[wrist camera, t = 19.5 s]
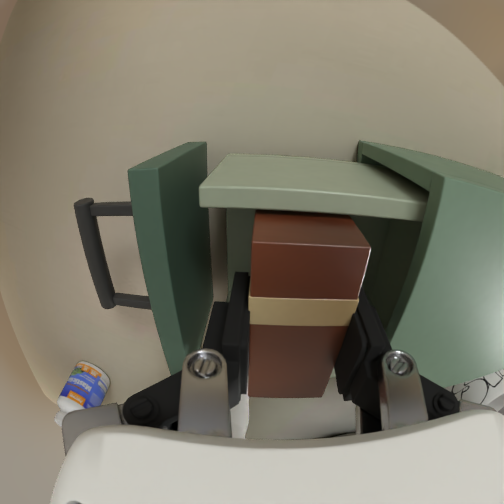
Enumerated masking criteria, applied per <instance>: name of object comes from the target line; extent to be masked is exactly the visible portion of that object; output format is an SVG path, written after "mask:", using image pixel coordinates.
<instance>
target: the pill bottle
mask: <svg viewBox="0 0 504 504" xmlns="http://www.w3.org/2000/svg"><path fill="white" fill-rule="evenodd" d="M109 385H110V380H109V378H108V376H107V375H106V374H105V373H104V372H103V371H102V370H101V369H99V368H98V367H96V366H95V365H93V364H91V363H88V362H85V361H80V362H78V363H77V365H76V366H75V368H74V370H73V372H72V373H71V375H70V377H69V379H68V381H67V383H66V385H65V386H64V388H63V390H62V392H61V394H60V396H59V398H58V400H57V404H58V406H59V408H60V409H61V410H60V411H59V412H58V413H56V417H55V419H54V420H55V422H56V423H57V424H58V425H59V426H61V427H62V420H63V418H64V416H65V415H66V414H68V413H69V412H71V411H74V410H80V409H86V408H91V407H97V406H101V403H102V401H103V399H104V396H105V394H106V392H107V390H108V387H109Z"/></svg>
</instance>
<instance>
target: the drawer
mask: <svg viewBox="0 0 504 504" xmlns="http://www.w3.org/2000/svg"><path fill="white" fill-rule="evenodd" d="M128 179H129V188H130V197H131V202H101V203H94V200H93V198H85V199H81V200H79V201H77V202H75V203H74V209H75V214H76V219H77V223H78V228H79V232H80V236H81V240H82V244H83V248H84V252H85V255H86V259H87V263H88V266H89V269H90V273H91V276H92V279H93V282H94V285H95V288H96V291H97V294H98V297H99V300H100V303H101V306H102V307H103V308H105V309H111V308H113V307H115V306H116V305H120V306H127V307H134V308H142V309H150V310H152V312H153V316H154V320H155V323H156V327H157V331H158V334H159V338H160V341H161V344H162V348H163V351H164V354H165V358H166V361H167V364H168V367H169V370H170V373H171V376H172V375H174V374H175V373H177V372H179V371H181V370H182V366H183V362H184V359H185V358H186V356H187V355H188V354H190V353H191V352H192V351H195V350H198V349H200V347H201V343H202V339H203V335H204V331H205V327H206V324H207V320H208V316H209V312H210V308H211V305H212V301H213V286H212V271H211V255H210V236H209V214H208V208H226V217H227V265H228V296H227V301H226V302H229V301H230V296H231V290H232V285H233V280H234V275H235V271H237V272H248V276H251V241H252V233H253V224H254V216H255V210H257V209H258V210H280V211H298V212H314V213H329V214H342V215H349V216H350V217H351V218H352V220H353V221H354V223H355V224H356V226H357V227H358V228H359V230H360V231H361V233H362V234H363V236H364V237H365V239H366V240H367V242H368V243H369V245H370V246H371V252H370V256H369V260H368V264H367V267H366V271H365V275H364V279H363V282H362V287H363V290H364V292H365V294H366V297H367V299H368V301H369V303H370V306H373V307H375V309H376V311H377V313H378V316H379V318H380V320H381V323H382V325H383V328H384V330H386V328H387V326H388V324H389V321H390V319H391V316H392V314H393V311H394V309H395V306H396V304H397V301H398V299H399V296H400V293H401V291H402V288H403V285H404V282H405V280H406V277H407V274H408V271H409V268H410V265H411V262H412V258H413V255H414V252H415V249H416V245H417V242H418V238H419V235H420V231H421V227H422V223H423V219H424V215H425V211H426V207H427V202H428V198H429V193H430V192H429V191H427V190H426V189H424V188H423V187H421V186H419V185H418V184H416V183H414V182H413V181H411V180H409V179H408V178H406V177H404V176H402V175H401V174H399V173H397V172H395V171H393V170H392V169H390V168H388V167H384V166H378V165H371V164H364V163H357V162H349V161H341V160H332V159H322V158H311V157H298V156H283V155H262V154H228V155H227V156H226V157H225V158H224V159H223V160H222V161H221V163H220V164H219V165H218V166H217V167H216V168H215V169H214V170H213V171H212V172H211V173H210V175H209V176H208V177H207V143H206V142H188V143H185V144H183V145H181V146H178V147H176V148H174V149H171V150H169V151H167V152H164V153H162V154H160V155H158V156H156V157H153V158H151V159H149V160H147V161H145V162H143V163H141V164H139V165H137V166H134V167H132V168H130V169H129V170H128ZM96 216H133V218H134V225H135V231H136V237H137V243H138V248H139V253H140V259H141V264H142V269H143V273H144V278H145V283H146V287H147V291H148V296H140V295H132V294H123V293H115V290H114V287H113V283H112V280H111V276H110V273H109V269H108V265H107V261H106V257H105V253H104V249H103V245H102V241H101V236H100V232H99V227H98V222H97V217H96ZM333 377H336V375H335V370H334V369H333V371H332V374H331V376H330V378H333Z"/></svg>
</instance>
